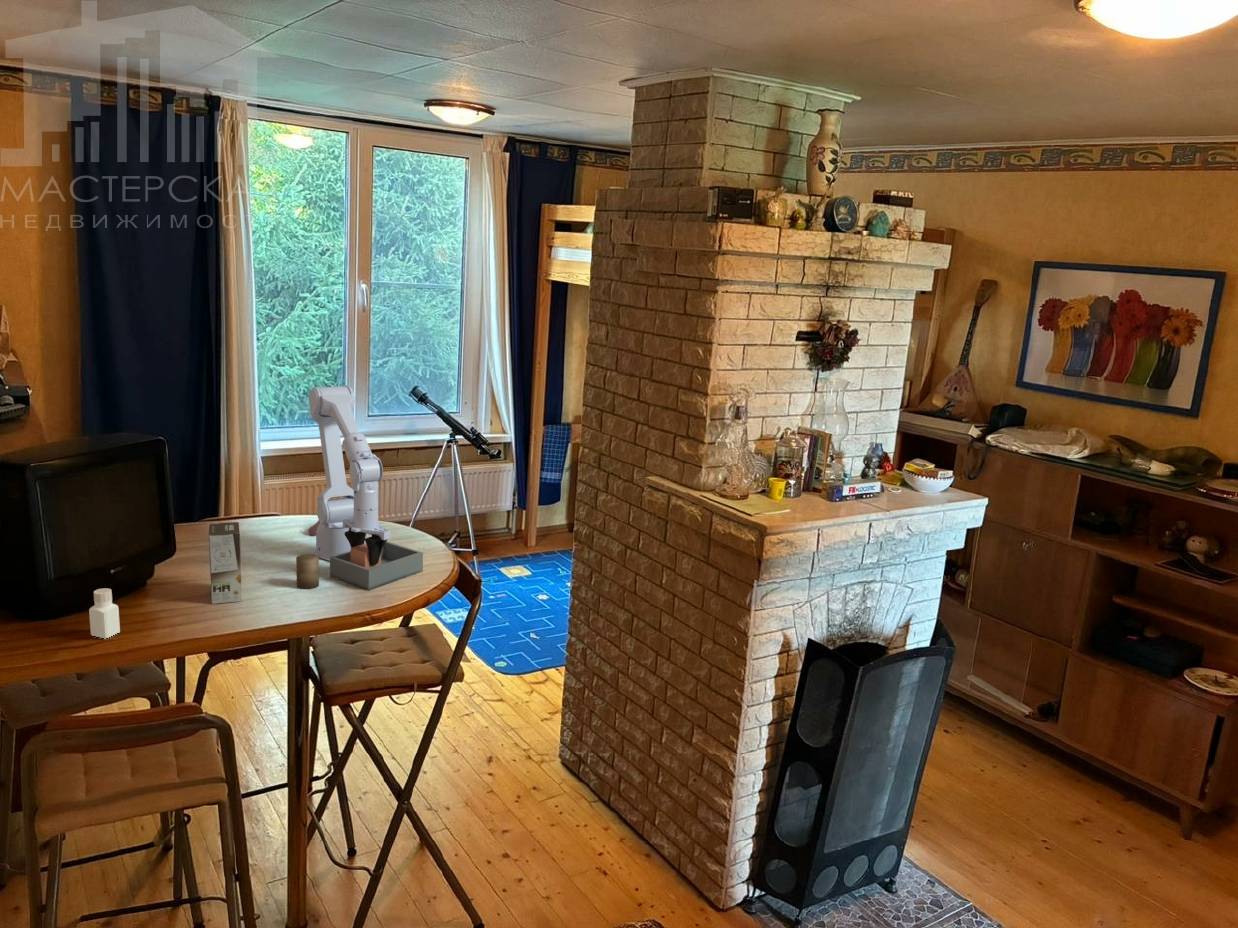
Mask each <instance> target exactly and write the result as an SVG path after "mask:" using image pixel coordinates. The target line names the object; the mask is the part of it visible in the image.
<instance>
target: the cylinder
mask: <svg viewBox="0 0 1238 928" xmlns="http://www.w3.org/2000/svg"><path fill="white" fill-rule="evenodd" d="M314 554H315V553H305V554H304V553H303V554H299V555H297V556H296V557H295V558H296V559H295V560H296V561H295V563H296V565H295V567H296V569H295V570H296V571H295V572H296V588H297V589H299V590H314V589H317V588H318V587H319V586H320V571H319V570H320V564H319V563H320V562H319V560H320V558H319V557H318V556H317V555H314Z"/></svg>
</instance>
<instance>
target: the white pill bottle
mask: <svg viewBox="0 0 1238 928" xmlns="http://www.w3.org/2000/svg"><path fill="white" fill-rule="evenodd" d="M112 591H113V590H112V589H111V588H108V587H107V588H106V587H105V588H98V589H96V590H94V591H93V601H94V605H92V606H90V608H89V610H88V612H89V613H88V615H89V625H90V626H89V628H90V635H92V636H96V637H100V638H99V639H101V638H104V639H103V640H107V639H106V638H108V639H110V638H112V637H114V636H116V635H118V634H117V633H120V632H121V628H120V627H121V624H120V615H119V614H120V611H119V610H120V609H119V605H118V604H115V603H113V593H112ZM115 634H116V635H115ZM113 635H114V636H113ZM92 636H91V637H92ZM111 636H112V637H111ZM96 637H95V638H96ZM109 637H110V638H109Z"/></svg>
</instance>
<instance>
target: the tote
mask: <svg viewBox="0 0 1238 928" xmlns="http://www.w3.org/2000/svg"><path fill="white" fill-rule="evenodd" d="M423 568H424V552H423V551H419V550H416V549H412V548H409V547H406V546H404V545H403V546H402V545H400V544H397V543H394V542H390V541H388V540H387V541H386V543H385V545H384V546H383V549H382V551H381V565H379V566H376V567H373V568H370V569H368V568H365V567H362V566H359V565H356V564H353V563H351V551H349V552H345V553H342V554H339V555H336V556H332V557H330V561H329V576H330V578H333V579H335V580H338V581H341V582H344V583H346V584H347V583H348V584H350V585H352V586H355V587H357V588H361V589H364V590H366V591H372V590H374V589H377V588H381V587H383V586H386V585H389V584H391V583H394V582H396V581H399V580H402V579H406V578H408V577H410V576H411V577H412V576H414V575H416V574H420V573H423V571H424V570H423Z"/></svg>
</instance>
